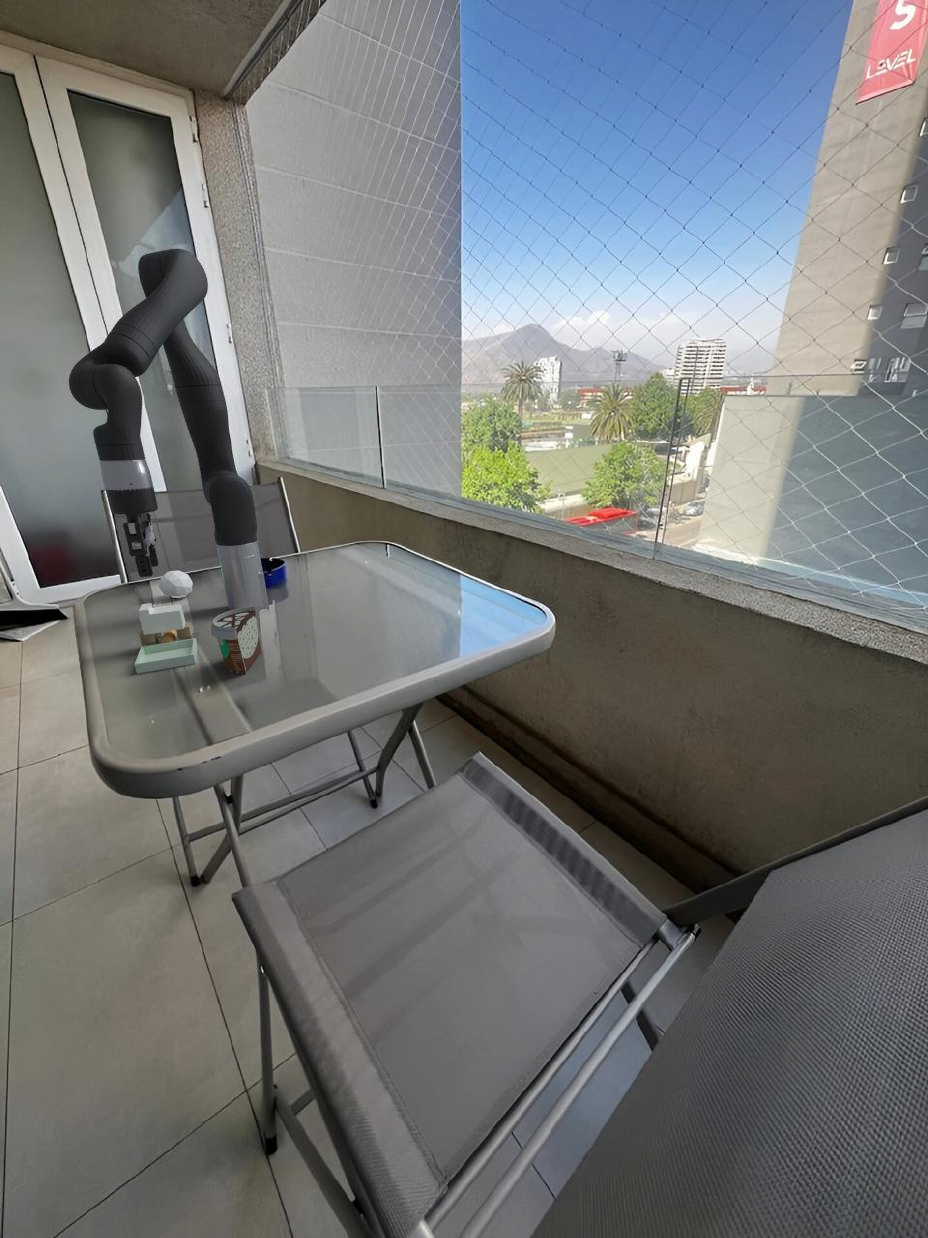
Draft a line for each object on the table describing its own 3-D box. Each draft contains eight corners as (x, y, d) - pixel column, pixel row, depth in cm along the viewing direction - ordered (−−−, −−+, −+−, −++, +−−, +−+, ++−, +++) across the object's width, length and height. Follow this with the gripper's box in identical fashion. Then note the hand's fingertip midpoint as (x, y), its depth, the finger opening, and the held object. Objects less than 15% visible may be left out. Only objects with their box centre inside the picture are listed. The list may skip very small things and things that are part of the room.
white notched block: (185, 621, 103) (180, 599, 101) (183, 628, 99) (178, 605, 97) (147, 627, 100) (140, 604, 99) (144, 634, 97) (137, 611, 95)
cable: (179, 633, 108) (176, 623, 107) (175, 648, 100) (173, 637, 99) (166, 635, 107) (164, 625, 106) (162, 650, 99) (159, 639, 98)
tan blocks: (194, 639, 104) (189, 622, 103) (193, 644, 102) (189, 626, 100) (146, 647, 101) (141, 629, 99) (144, 652, 98) (139, 634, 97)
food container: (233, 653, 99) (224, 606, 95) (264, 651, 99) (256, 605, 96) (209, 682, 87) (197, 630, 84) (244, 680, 88) (234, 629, 84)
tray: (197, 646, 101) (195, 638, 100) (195, 663, 93) (193, 654, 93) (143, 655, 97) (141, 646, 96) (137, 673, 89) (134, 664, 89)
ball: (190, 606, 135) (202, 584, 133) (160, 604, 128) (172, 580, 126) (179, 588, 138) (191, 566, 136) (149, 585, 131) (161, 562, 129)
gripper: (147, 488, 85) (167, 577, 91) (157, 481, 97) (175, 561, 103) (95, 490, 82) (120, 582, 88) (113, 483, 94) (133, 565, 100)
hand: (149, 571), depth 96 cm, fingers open, 8 cm apart
